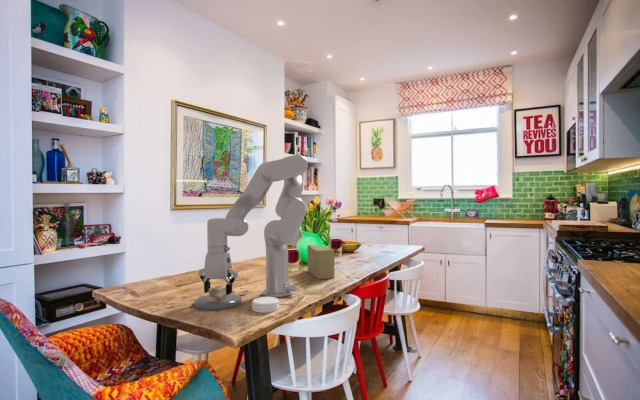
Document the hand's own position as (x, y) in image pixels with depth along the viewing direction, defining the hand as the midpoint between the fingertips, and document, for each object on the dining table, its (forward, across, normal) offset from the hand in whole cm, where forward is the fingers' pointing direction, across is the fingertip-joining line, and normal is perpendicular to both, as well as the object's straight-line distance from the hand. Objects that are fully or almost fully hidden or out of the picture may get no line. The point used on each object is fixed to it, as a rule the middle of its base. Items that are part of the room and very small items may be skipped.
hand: (218, 293), depth 143 cm
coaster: (+4, -21, +1) cm, 22 cm away
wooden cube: (+3, 0, 0) cm, 3 cm away
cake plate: (+4, 0, 0) cm, 4 cm away
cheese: (+4, -22, -58) cm, 63 cm away
